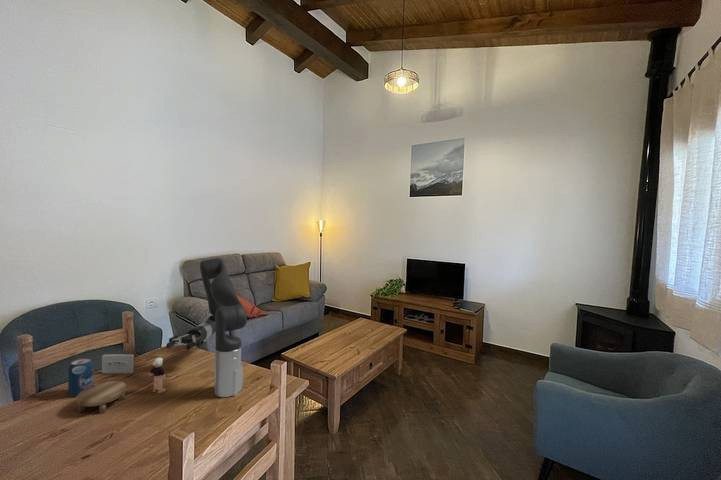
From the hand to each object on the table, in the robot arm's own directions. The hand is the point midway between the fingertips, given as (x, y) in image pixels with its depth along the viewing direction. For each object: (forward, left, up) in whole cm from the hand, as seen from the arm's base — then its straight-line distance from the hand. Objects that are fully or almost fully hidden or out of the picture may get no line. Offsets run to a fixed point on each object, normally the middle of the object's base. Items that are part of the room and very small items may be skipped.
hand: (177, 347), depth 128 cm
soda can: (+26, +16, -13) cm, 33 cm away
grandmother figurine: (0, +11, -13) cm, 17 cm away
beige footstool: (+12, +22, -12) cm, 28 cm away
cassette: (+26, 0, -13) cm, 29 cm away
